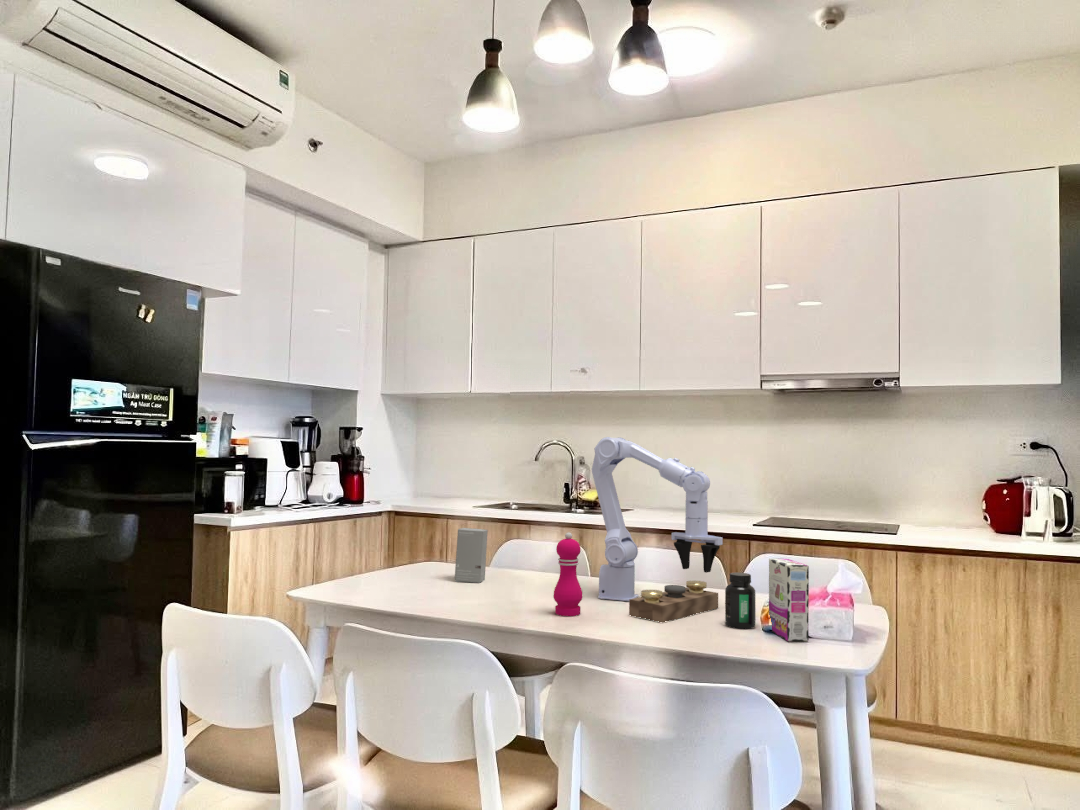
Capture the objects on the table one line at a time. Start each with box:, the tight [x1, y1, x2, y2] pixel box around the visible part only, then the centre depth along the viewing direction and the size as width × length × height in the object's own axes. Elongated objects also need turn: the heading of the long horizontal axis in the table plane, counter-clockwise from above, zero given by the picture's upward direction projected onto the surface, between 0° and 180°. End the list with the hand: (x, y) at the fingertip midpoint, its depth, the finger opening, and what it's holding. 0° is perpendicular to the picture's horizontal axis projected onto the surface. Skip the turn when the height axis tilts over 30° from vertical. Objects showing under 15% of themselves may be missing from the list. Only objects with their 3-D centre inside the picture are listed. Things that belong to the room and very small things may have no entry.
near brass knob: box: [640, 589, 664, 604], centre depth 183 cm, size 5×5×5 cm
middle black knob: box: [663, 584, 686, 598], centre depth 190 cm, size 5×5×5 cm
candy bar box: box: [768, 558, 810, 643], centre depth 167 cm, size 11×5×16 cm, turn 5°
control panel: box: [628, 586, 719, 623], centre depth 189 cm, size 24×10×4 cm, turn 134°
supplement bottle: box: [724, 572, 757, 630], centre depth 176 cm, size 7×7×12 cm
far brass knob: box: [685, 580, 708, 594], centre depth 196 cm, size 5×5×5 cm
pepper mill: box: [553, 532, 584, 617], centre depth 187 cm, size 7×7×20 cm
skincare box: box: [454, 527, 489, 584], centre depth 230 cm, size 8×7×16 cm
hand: (696, 570), depth 196 cm, fingers open, 6 cm apart
